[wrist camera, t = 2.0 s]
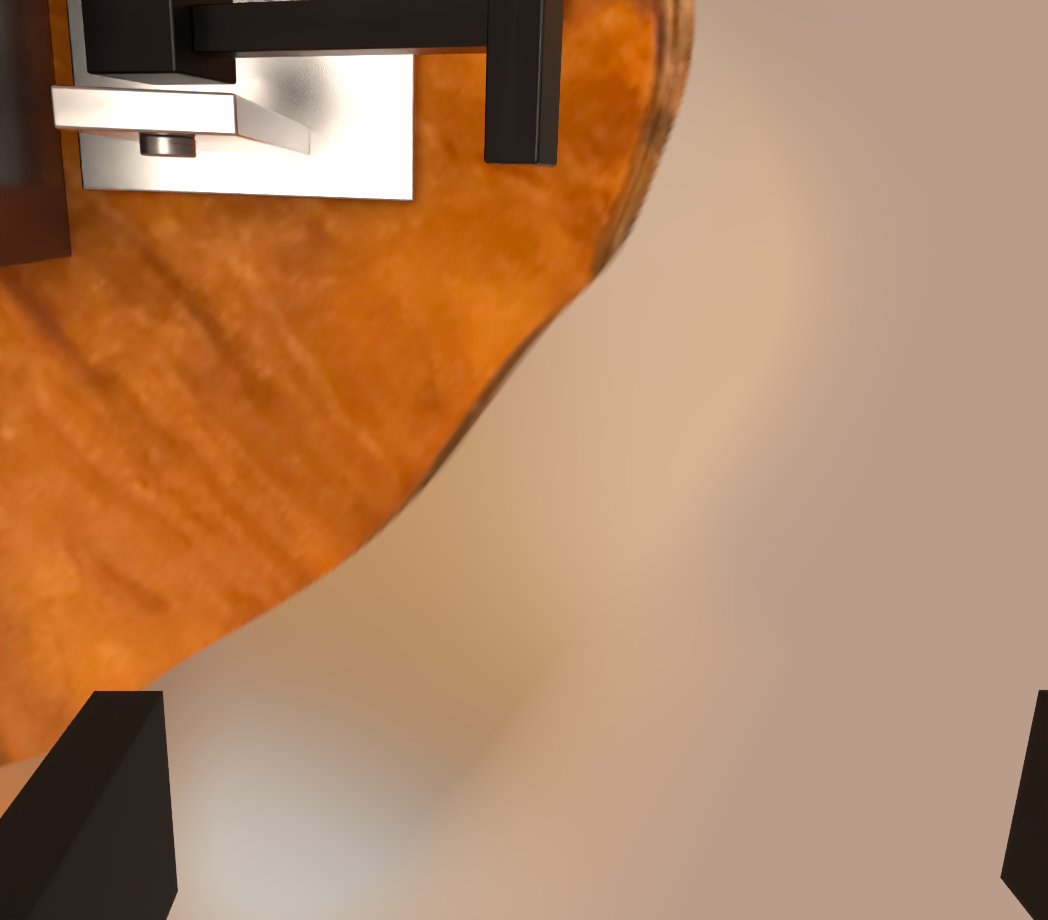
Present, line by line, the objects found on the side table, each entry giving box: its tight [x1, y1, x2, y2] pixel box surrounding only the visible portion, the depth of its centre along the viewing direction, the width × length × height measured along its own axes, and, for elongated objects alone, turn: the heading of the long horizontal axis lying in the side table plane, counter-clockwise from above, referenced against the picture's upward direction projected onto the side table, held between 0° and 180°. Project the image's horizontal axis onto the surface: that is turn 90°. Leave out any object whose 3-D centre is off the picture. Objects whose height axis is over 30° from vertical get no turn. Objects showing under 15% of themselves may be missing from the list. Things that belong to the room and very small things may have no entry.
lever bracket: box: [50, 0, 416, 202], centre depth 28 cm, size 12×8×13 cm, turn 88°
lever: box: [81, 0, 564, 167], centre depth 22 cm, size 12×6×2 cm, turn 89°
